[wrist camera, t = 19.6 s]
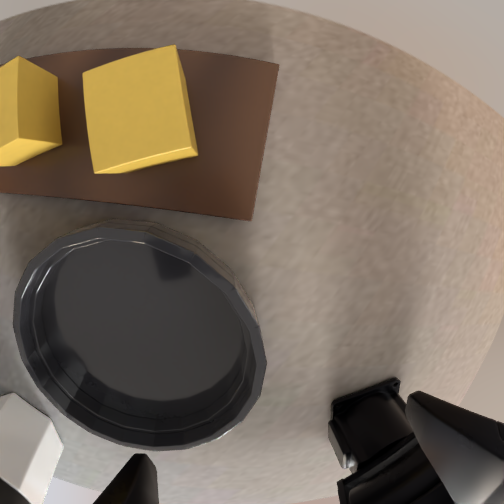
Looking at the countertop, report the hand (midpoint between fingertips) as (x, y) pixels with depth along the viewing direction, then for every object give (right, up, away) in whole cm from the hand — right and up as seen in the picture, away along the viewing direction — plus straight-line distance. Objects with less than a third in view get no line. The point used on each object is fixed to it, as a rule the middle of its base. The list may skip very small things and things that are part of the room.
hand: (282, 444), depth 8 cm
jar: (-24, -11, +11) cm, 29 cm away
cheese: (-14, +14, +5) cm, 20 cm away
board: (-10, +14, +6) cm, 18 cm away
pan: (-9, 0, +10) cm, 13 cm away
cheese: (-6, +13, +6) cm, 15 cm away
